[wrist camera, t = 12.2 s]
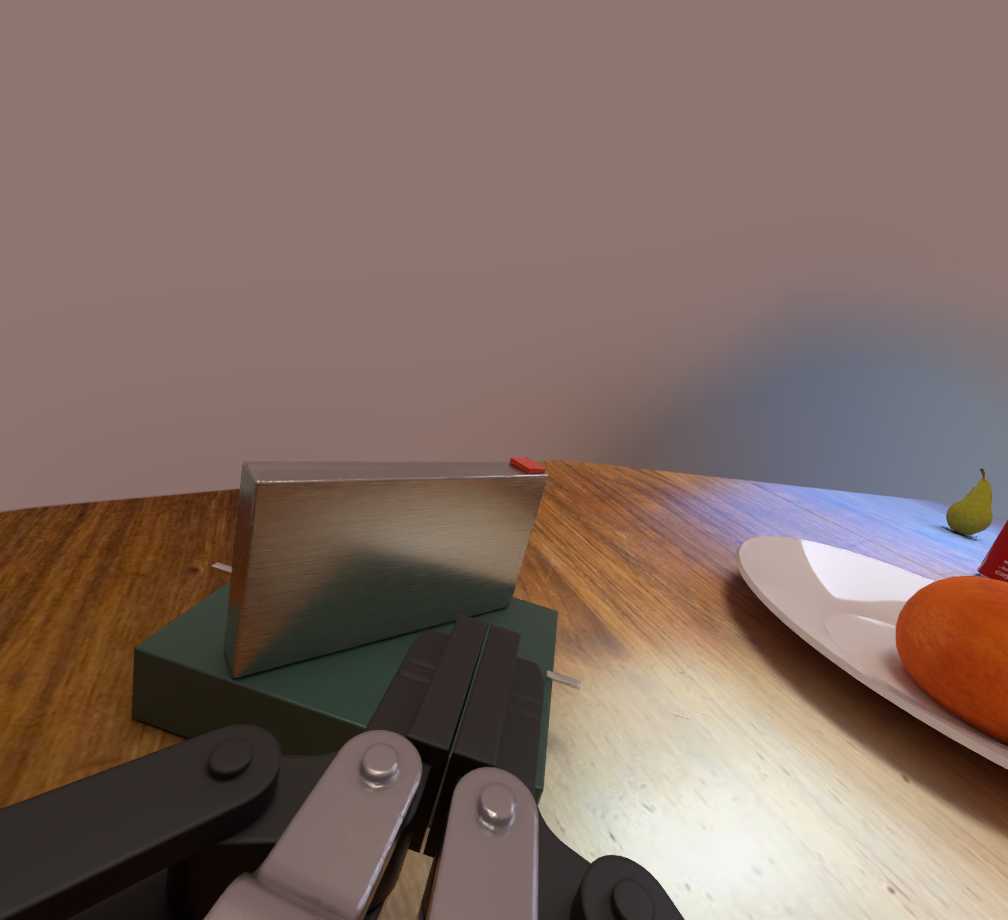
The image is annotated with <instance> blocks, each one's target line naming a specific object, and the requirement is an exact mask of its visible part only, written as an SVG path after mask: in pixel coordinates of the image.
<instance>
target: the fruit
mask: <svg viewBox="0 0 1008 920" xmlns="http://www.w3.org/2000/svg"><path fill="white" fill-rule="evenodd" d="M980 471H981V473H982V475H983V478H982V480H981V481H979V483H978V485H977V486H976V487H974V488H973V489H972V490H971V491H970V492H969V494H968V495H967V496H966V497H965V498H963V499H962V500H961V501H959V502H957V503H955V504H953V505H952V506H951V507H950V508H949V509H948V511H947V516H946V518H947V522H948V525H949V526H950V528H951V529H952V530H954V531H956V532H957V533H960V534H964V535H971V534H975V533H978V532H981V531H983V530H985V529H986V528H987V527H989V525H990V524H991V522H992V510H991V503H992V489H991V485H990V483H989V482H988V481H986V480H985V472H984V470H983V469H981V470H980Z"/></svg>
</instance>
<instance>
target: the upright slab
mask: <svg viewBox="0 0 1008 920" xmlns="http://www.w3.org/2000/svg"><path fill="white" fill-rule="evenodd" d="M544 472H545V468H544V467H542V466H540V465H538V464H537V463H535V462H533V461H531V460H530V459H528V458H511V460H510V462H244V463H243V466H242V475H241V485H240V494H239V504H238V514H237V523H236V533H235V543H234V553H233V562H232V572H231V582H230V591H229V601H228V611H227V620H226V630H225V640H224V651H225V654H226V657H227V661H228V664H229V667H230V670H231V674H232V677H233V678H235V679H236V678H240V677H244V676H247V675H251V674H255V673H259V672H263V671H266V670H270V669H274V668H278V667H281V666H285V665H289V664H293V663H297V662H300V661H304V660H308V659H312V658H316V657H319V656H323V655H327V654H331V653H334V652H338V651H342V650H346V649H350V648H353V647H357V646H361V645H365V644H368V643H372V642H376V641H380V640H384V639H387V638H391V637H395V636H399V635H403V634H406V633H410V632H414V631H418V630H421V629H425V628H429V627H433V626H437V625H440V624H444V623H448V622H452V621H455V620H457V617H458V615H459V614H461V615H464V616H467V617H471V616H474V615H478V614H482V613H486V612H490V611H493V610H497V609H501V608H505V607H508V606H510V603H511V600H512V596H513V593H514V590H515V586H516V583H517V580H518V576H519V573H520V570H521V566H522V563H523V559H524V556H525V553H526V549H527V546H528V543H529V539H530V536H531V533H532V529H533V526H534V522H535V519H536V516H537V512H538V509H539V506H540V502H541V499H542V496H543V492H544V489H545V486H546V482H547V479H548V474H546V473H544Z"/></svg>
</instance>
